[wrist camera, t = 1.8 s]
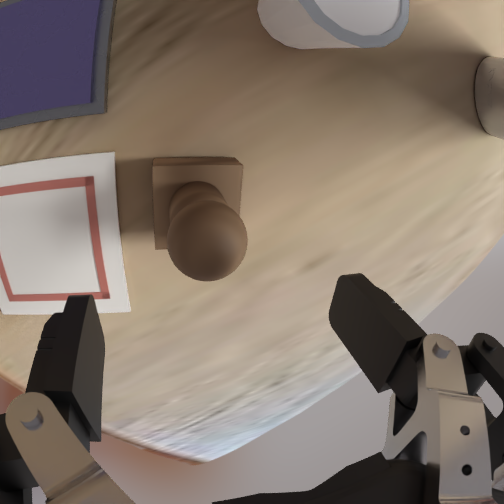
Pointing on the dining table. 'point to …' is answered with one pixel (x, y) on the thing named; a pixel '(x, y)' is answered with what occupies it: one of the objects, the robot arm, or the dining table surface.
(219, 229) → the stamp
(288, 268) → the dining table surface
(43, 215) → the print card
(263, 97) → the dining table surface
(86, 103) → the ink pad
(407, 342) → the robot arm
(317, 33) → the shot glass
